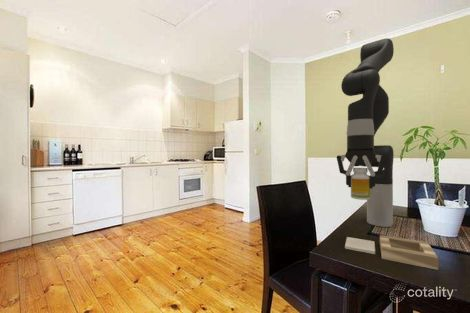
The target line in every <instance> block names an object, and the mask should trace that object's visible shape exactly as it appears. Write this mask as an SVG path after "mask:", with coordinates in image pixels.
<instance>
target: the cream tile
mask: <svg viewBox="0 0 470 313" xmlns="http://www.w3.org/2000/svg"><path fill="white" fill-rule="evenodd" d="M344 249H345V250H349V251H350V250H352V251H357V252H361V253H367V254H372V255H376V244H375V241H373V240H369V239H362V238H356V237H349V236H346V239H345V245H344Z"/></svg>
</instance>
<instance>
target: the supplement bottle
mask: <svg viewBox="0 0 470 313" xmlns="http://www.w3.org/2000/svg"><path fill="white" fill-rule="evenodd" d="M352 172H353V174H350V175H351V187H350V197H351V199H354V200H360V201H361V200H364V201H367V200H368V199H370V175H369V174H368V172H369V170H368V168H367V167H353V169H352Z"/></svg>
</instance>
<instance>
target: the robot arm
mask: <svg viewBox="0 0 470 313" xmlns="http://www.w3.org/2000/svg"><path fill="white" fill-rule="evenodd" d="M394 49H395V48H394V43H393V40H392V39H390V38H386V37H385V38H382V39H379V40H375V41H371V42H369V43H365V44H363V45H362V46H361V48H360V52H359V55H360V56H359V57H360V58H359V59H360V63H359V64H358V66H357V67H356V68H354V69H352V70H350V71H349V72H348V73H346V75H344V77H343V79H342V81H341V84H340V85H341V91H342V93H343V94H344V95H345V96H347V97H353V96H359V95H362V97H361V98H360V99H358V100H355V101H353V102H350V103H349V104H348V106H347V125H346V127H347V128H346V153H345V154H341V155H337V156H336V161H337V165H338V171H339V173H340V174H341V175H342V174H343V175H345V184H346V186H347V188H351V175H352V174H351V173H352V172H353V168H355V167H363V168H367V170H368V172H369V174H370V175H369V176H370V199H368V200H366V223H367V224H369V225H372V226H376V227H384V228H385V227H386V228H388V227H389V228H390V227H391V228H392V227H393V225H394V220H393V219H394V216H393V215H394V207H393V206H394V198H393V197H394V194H393V193H394V188H393V186H394V184H393V182H394V181H393V180H394V179H393V176H394V174H393V172H394V171H393V168H394V167H393V166H394V157H395V156H394V148H393V146H391V145H388V144H387V145H383V144H380V145H375V135H376V134H377V132H378V130H379V129H380V127H381V126H382V125H383V123H384V122H385V121H386V119H387V118H388V115H389V112H390V109H389V107H390V102H389V101H390V98H389V95H388V93H387V92H386V91H385V89H384V88H383V87H382V86H381V84H380V82H381V75H380V71H381V70H382V69H383V68H384V67H385V66H386V65H387V64H389V62H391V61H392V59H393V57H394ZM345 159H347V160H348V162H349V165H348V168H347V169H346V170H345V168H344V161H345ZM373 168H377V170H375V171H374V169H373Z"/></svg>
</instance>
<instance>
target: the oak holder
mask: <svg viewBox="0 0 470 313" xmlns="http://www.w3.org/2000/svg"><path fill="white" fill-rule="evenodd" d="M379 248H380V254H381V259H382V260H385V261H392V262H396V263H402V264H406V265H412V266H416V267H422V268H427V269H432V270H437V271H439V257H438V255H437V254H436V252H435V251H434V250H433V248H432V247H431V245H430V244H429V243H428V242H427V241H422V240H414V239H408V238H402V237H395V236H388V235H383V234H382V235H379Z"/></svg>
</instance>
